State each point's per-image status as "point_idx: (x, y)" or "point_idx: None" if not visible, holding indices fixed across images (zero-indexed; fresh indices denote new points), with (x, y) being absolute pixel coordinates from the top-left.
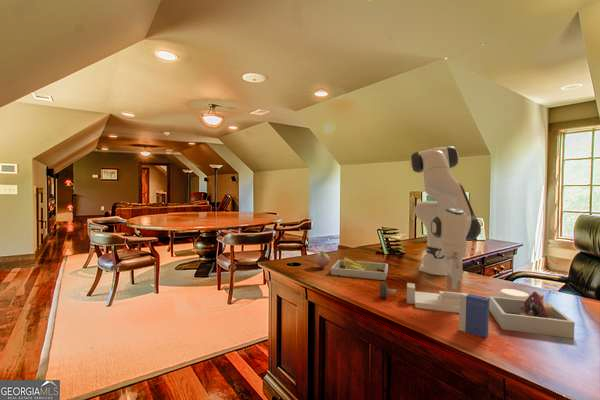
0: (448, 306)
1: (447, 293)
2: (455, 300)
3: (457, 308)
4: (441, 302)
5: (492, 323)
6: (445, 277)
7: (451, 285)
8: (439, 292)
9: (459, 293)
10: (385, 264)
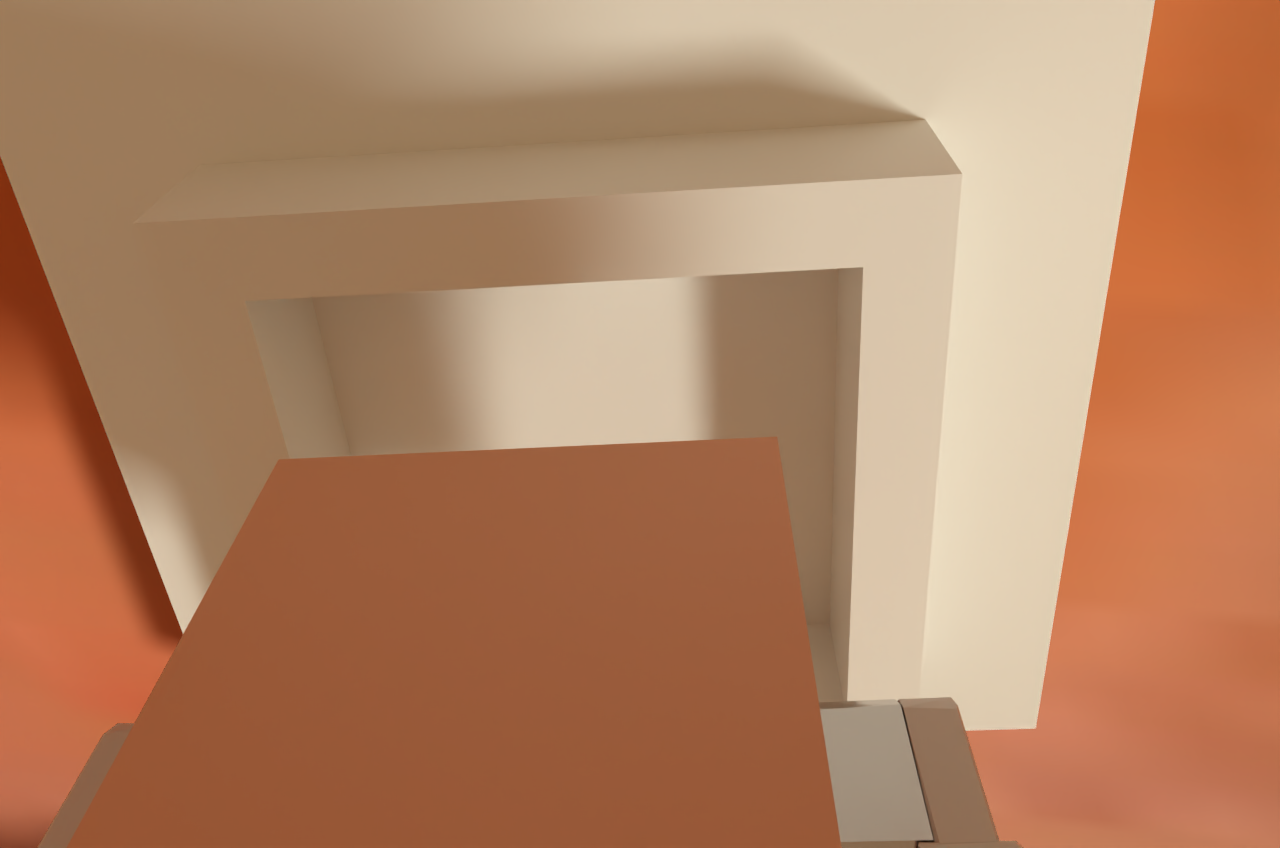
0: (70, 324)
1: (853, 399)
2: None
3: (144, 490)
4: (207, 170)
5: (45, 833)
6: (677, 806)
7: None
8: (877, 165)
9: (866, 683)
10: None
